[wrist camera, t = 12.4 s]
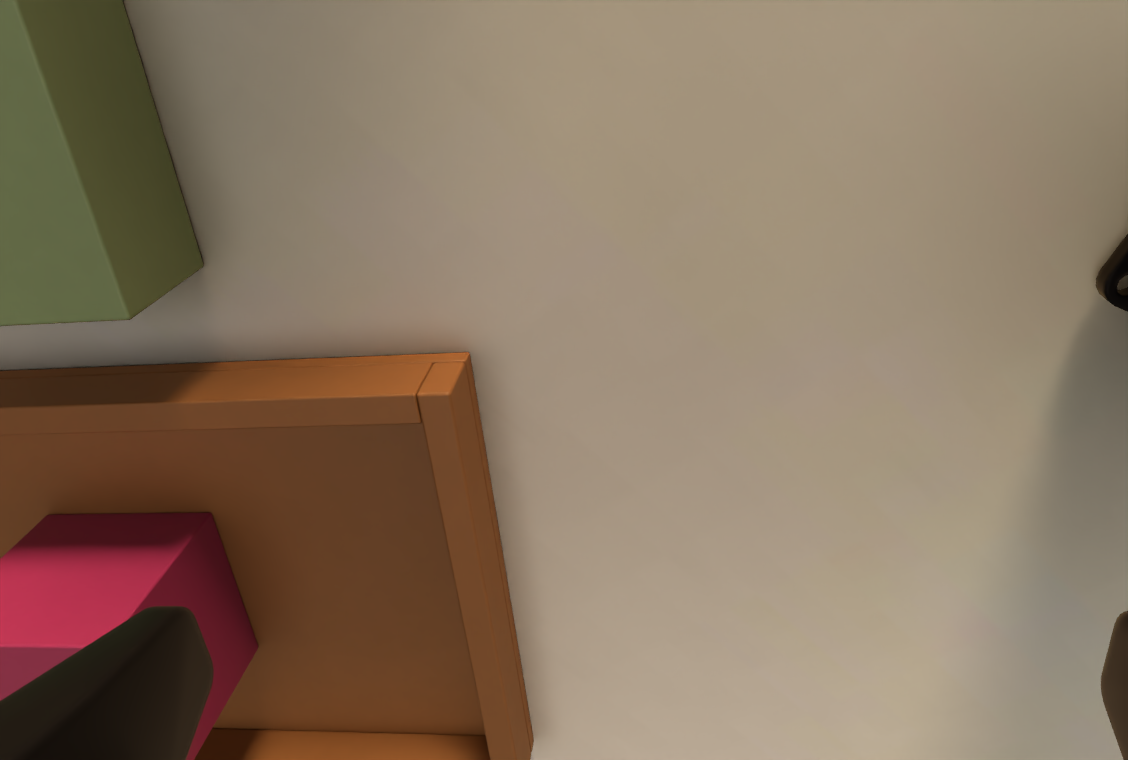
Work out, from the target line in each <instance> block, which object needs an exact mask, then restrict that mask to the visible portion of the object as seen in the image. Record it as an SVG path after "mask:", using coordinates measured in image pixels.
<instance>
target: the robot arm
mask: <svg viewBox="0 0 1128 760" xmlns="http://www.w3.org/2000/svg"><path fill="white" fill-rule="evenodd" d="M1126 275H1128V234H1127V235H1126V237H1125V238H1124V239H1123V241H1122V242H1121V243H1120V245H1119V246H1118V247H1117V248H1116V250H1115V251H1114V252H1113V254H1112V255H1111V256H1110V258H1109V259H1108V260H1107V262H1106V263H1105V264H1104V266H1103V267H1102V268H1101V270H1100V272H1099V274H1098V276H1097V278H1096V288H1097V290H1098V292H1099V294H1100V295H1102V296H1103V297H1104V298H1105V299H1106V300H1107V301H1109V302H1110V303H1111V304H1113V305H1114V306H1116V307H1118V308H1121V309H1123V310H1125V311H1128V287H1127V288H1124V289H1121V290H1118V289H1117V285H1118V283H1119V281H1120V280H1121V279H1122V278H1123V277H1124V276H1126ZM213 677H214V669H213V662H212V659H211V656H210V654H209V651H208V648H207V646H206V643H205V641H204V638H203V636H202V633H201V630H200V628H199V625H198V623H197V620H196V617H195V616H194V614H193V612H192V611H191V610H189V609H188V608H186V607H183V606H153V607H148V608H146V609H144V610H142V611H141V612H139V613H137V614H136V615H134V616H133V617H131V618H130V619H128V620H126V621H125V622H123V623H122V624H120V625H119V626H117V627H115V628H114V629H112V630H111V631H109V632H108V633H106V634H104V635H103V636H101V637H100V638H98V639H97V640H95V641H93V642H92V643H90V644H89V645H87V646H86V647H84V648H83V649H81V650H79V651H78V652H76V653H75V654H73V655H72V656H70V657H68V658H67V659H65V660H64V661H62V662H61V663H59V664H57V665H56V666H54V667H53V668H51V669H50V670H48V671H46V672H45V673H43V674H42V675H40V676H39V677H37V678H35V679H34V680H32V681H31V682H29V683H28V684H26V685H25V686H23V687H21V688H20V689H18V690H17V691H15V692H14V693H12V694H10V695H9V696H7V697H6V698H4V699H3V700H1V701H0V760H186V758H187V755H188V752H189V749H190V747H191V744H192V741H193V738H194V735H195V733H196V730H197V727H198V724H199V721H200V718H201V716H202V713H203V710H204V707H205V704H206V702H207V699H208V696H209V693H210V690H211V687H212V683H213ZM1101 692H1102V697H1103V702H1104V705H1105V708H1106V711H1107V714H1108V716H1109V719H1110V722H1111V725H1112V728H1113V731H1114V734H1115V736H1116V739H1117V742H1118V745H1119V748H1120V751H1121V753H1122V756H1123V759H1124V760H1128V611H1126V612H1123V613H1122V614H1120V616H1119V617H1118V618H1117V620H1116V622H1115V625H1114V629H1113V633H1112V636H1111V640H1110V644H1109V648H1108V652H1107V656H1106V660H1105V663H1104V667H1103V671H1102V676H1101Z"/></svg>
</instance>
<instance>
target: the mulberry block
mask: <svg viewBox="0 0 1128 760" xmlns="http://www.w3.org/2000/svg"><path fill="white" fill-rule="evenodd" d="M153 606H183V607H186V608H188V609H189V610H191V611H192V612H193V614H194V616H195V617H196V620H197V623H198V625H199V628H200V630H201V633H202V636H203V638H204V641H205V643H206V646H207V648H208V651H209V654H210V656H211V659H212V662H213V669H214V677H213V683H212V687H211V690H210V693H209V696H208V699H207V702H206V704H205V707H204V710H203V713H202V716H201V718H200V721H199V724H198V727H197V730H196V733H195V735H194V738H193V741H192V744H191V747H190V749H189V752H188V755H187V758H186V760H194V759H195V757H196V755H197V754H198V752H199V750H200V749H201V747H202V745H203V743H204V742H205V740H206V738H207V736H208V735H209V733H210V731H211V729H212V728H213V726H214V724H215V722H216V721H217V719H218V717H219V716H220V714H221V712H222V710H223V709H224V707H225V705H226V703H227V702H228V700H229V698H230V696H231V695H232V693H233V691H234V689H235V688H236V686H237V684H238V683H239V681H240V679H241V677H242V676H243V674H244V672H245V670H246V669H247V667H248V665H249V663H250V662H251V660H252V658H253V656H254V655H255V653H256V651H257V650H258V644H257V641H256V638H255V635H254V632H253V630H252V627H251V624H250V621H249V618H248V615H247V613H246V610H245V607H244V604H243V601H242V598H241V595H240V593H239V590H238V587H237V584H236V581H235V578H234V576H233V573H232V570H231V567H230V564H229V561H228V558H227V556H226V553H225V550H224V547H223V544H222V541H221V539H220V536H219V533H218V530H217V527H216V524H215V522H214V519H213V516H212V513H210V512H206V513H126V514H49V515H46V516H45V517H44V518H43V519H42V520H41V521H40V522H39V523H38V524H37V525H36V526H35V527H34V528H33V529H32V530H30V531H29V532H28V533H27V534H26V535H25V536H24V537H23V538H22V539H21V540H20V541H19V542H18V543H17V544H16V545H14V546H13V547H12V548H11V549H10V550H9V551H8V552H7V553H6V554H5V555H4V556H3V557H2V558H1V559H0V701H1V700H3V699H4V698H6V697H7V696H9V695H10V694H12V693H14V692H15V691H17V690H18V689H20V688H21V687H23V686H25V685H26V684H28V683H29V682H31V681H32V680H34V679H35V678H37V677H39V676H40V675H42V674H43V673H45V672H46V671H48V670H50V669H51V668H53V667H54V666H56V665H57V664H59V663H61V662H62V661H64V660H65V659H67V658H68V657H70V656H72V655H73V654H75V653H76V652H78V651H79V650H81V649H83V648H84V647H86V646H87V645H89V644H90V643H92V642H93V641H95V640H97V639H98V638H100V637H101V636H103V635H104V634H106V633H108V632H109V631H111V630H112V629H114V628H115V627H117V626H119V625H120V624H122V623H123V622H125V621H126V620H128V619H130V618H131V617H133V616H134V615H136V614H137V613H139V612H141V611H142V610H144V609H146V608H148V607H153Z"/></svg>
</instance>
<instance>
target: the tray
mask: <svg viewBox="0 0 1128 760" xmlns="http://www.w3.org/2000/svg"><path fill="white" fill-rule="evenodd" d="M206 512H210V513H212V516H213V519H214V522H215V524H216V527H217V530H218V533H219V536H220V539H221V541H222V544H223V547H224V550H225V553H226V556H227V558H228V561H229V564H230V567H231V570H232V573H233V576H234V578H235V581H236V584H237V587H238V590H239V593H240V595H241V598H242V601H243V604H244V607H245V610H246V613H247V615H248V618H249V621H250V624H251V627H252V630H253V632H254V635H255V638H256V641H257V644H258V650H257V651H256V653H255V655H254V656H253V658H252V660H251V662H250V663H249V665H248V667H247V669H246V670H245V672H244V674H243V676H242V677H241V679H240V681H239V683H238V684H237V686H236V688H235V689H234V691H233V693H232V695H231V696H230V698H229V700H228V702H227V703H226V705H225V707H224V709H223V710H222V712H221V714H220V716H219V717H218V719H217V721H216V722H215V724H214V726H213V728H212V729H211V731H210V733H209V735H208V736H207V738H206V740H205V742H204V743H203V745H202V747H201V749H200V750H199V752H198V754H197V755H196V757H195V759H194V760H530V757H531V752H532V747H533V741H534V740H533V734H532V728H531V722H530V716H529V710H528V704H527V698H526V692H525V686H524V679H523V673H522V667H521V661H520V655H519V649H518V643H517V637H516V631H515V625H514V619H513V613H512V607H511V601H510V595H509V589H508V583H507V577H506V571H505V565H504V558H503V552H502V546H501V540H500V534H499V528H498V522H497V516H496V510H495V504H494V498H493V492H492V486H491V480H490V474H489V468H488V462H487V456H486V450H485V444H484V437H483V431H482V425H481V419H480V413H479V407H478V401H477V395H476V389H475V383H474V377H473V371H472V365H471V359H470V354H469V353H468V352H462V353H437V354H412V355H387V356H362V357H337V358H312V359H287V360H263V361H238V362H213V363H188V364H163V365H138V366H113V367H88V368H63V369H38V370H13V371H0V559H1V558H2V557H3V556H4V555H5V554H6V553H7V552H8V551H9V550H10V549H11V548H12V547H13V546H14V545H16V544H17V543H18V542H19V541H20V540H21V539H22V538H23V537H24V536H25V535H26V534H27V533H28V532H29V531H30V530H32V529H33V528H34V527H35V526H36V525H37V524H38V523H39V522H40V521H41V520H42V519H43V518H44V517H45V516H46V515H49V514H126V513H206Z"/></svg>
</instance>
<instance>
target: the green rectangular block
mask: <svg viewBox="0 0 1128 760" xmlns="http://www.w3.org/2000/svg"><path fill="white" fill-rule="evenodd" d="M202 267H203V262H202V258H201V255H200V252H199V248H198V245H197V242H196V239H195V235H194V232H193V229H192V226H191V222H190V219H189V216H188V213H187V209H186V206H185V203H184V200H183V196H182V193H181V190H180V187H179V183H178V180H177V177H176V173H175V170H174V167H173V164H172V160H171V157H170V154H169V151H168V147H167V144H166V141H165V138H164V134H163V131H162V128H161V125H160V121H159V118H158V115H157V112H156V108H155V105H154V102H153V98H152V95H151V92H150V89H149V85H148V82H147V79H146V76H145V72H144V69H143V66H142V63H141V59H140V56H139V53H138V50H137V46H136V43H135V40H134V37H133V33H132V30H131V27H130V23H129V20H128V17H127V14H126V10H125V7H124V4H123V1H122V0H0V326H10V325H30V324H51V323H72V322H93V321H114V320H130V319H132V318H133V317H134V316H136V315H137V314H138V313H140V312H141V311H143V310H144V309H145V308H147V307H148V306H150V305H151V304H152V303H154V302H155V301H156V300H158V299H159V298H161V297H162V296H163V295H165V294H166V293H167V292H169V291H170V290H172V289H173V288H174V287H176V286H177V285H179V284H180V283H181V282H183V281H184V280H185V279H187V278H188V277H190V276H191V275H192V274H194V273H195V272H197V271H198V270H199V269H201V268H202Z"/></svg>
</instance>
